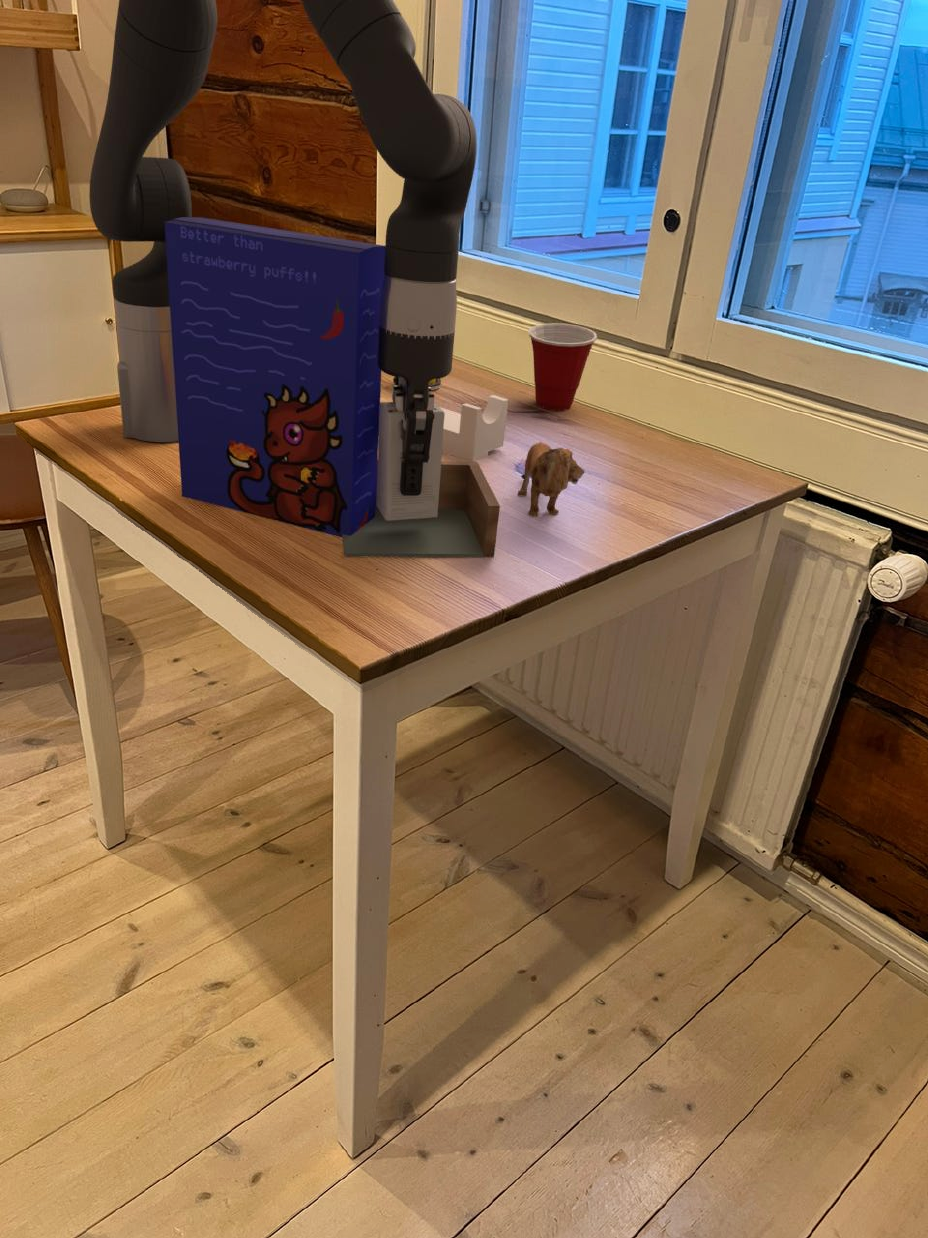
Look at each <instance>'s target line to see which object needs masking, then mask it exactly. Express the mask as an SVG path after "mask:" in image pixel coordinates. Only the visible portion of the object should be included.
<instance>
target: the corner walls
mask: <svg viewBox="0 0 928 1238" xmlns="http://www.w3.org/2000/svg"><path fill="white" fill-rule="evenodd" d="M377 472H378V461H377ZM375 509H378V507H377V484H376V506H375ZM438 509H442V510H465V512H466V514H467V516H468V519H469V521H470V523H471V526H472V528H473V530H474V533H475V535H476V537H477V540H478V542H479V545H480V547H481V549H482V552H483V554H487V555H483V557H482V558H495V551H496V542H497V536H498V535H497V534H498V525H499V518H500V517H499V516H500V509H501V505H500V504H499V501H498V499H497V497H496V495H495V494H494V492H493V490H492V487H491V486H490V483H489V482H488V479H487V477H486V475H485V474H484V472H483V470H482V468H481V466H480V463H479V462H478V460H477V461H467V460H465V461H464V460H441V473H440V487H439V501H438ZM490 554H491V555H490ZM488 555H490V556H488Z"/></svg>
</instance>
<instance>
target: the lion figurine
mask: <svg viewBox="0 0 928 1238" xmlns="http://www.w3.org/2000/svg"><path fill="white" fill-rule="evenodd" d="M584 474H585V470H584V469H583V468H582V467H580V466H579V465H578V463H577V461H576V460H575V459H574V458H573V451H572V450H570V449H569V448H564V447H559V448H553V449H552V448H551V446H550V445H549V444H546V443H544V442H542V441H539V442H537V443H534V444H532V445H531V447H530V448H529V450H528V452H527V455H526V458H525V465H524V473H523V474H522V475H521V476H520V477H521V479H522V484H521V487H520V489H519V490H518V491H517V495H518V496H520V497H525V496H527V495H528V488H529V487H528V486H529V484H530V479H531V486H530V507H529V510H528V512H527V514H528V516H530V517H538V515H539V511H540V510H539V509H540V508H539V499H540V498H539V497H540V495H543V496H545V497H548V499H549V500H548V502H547V503H546V504H547V505H546V511H547V513H548V514H549V515H551V516H556V515H558V514H559V510H558V509H556V507H555V506H556V503H557V500H558V498H559V495H560V494H561V493H562V491H564V490H566V489H567V488H568V486H569V483H571V484H573V485H577V484H578V483H579V480H580V479H581V478H582V477H583V475H584Z"/></svg>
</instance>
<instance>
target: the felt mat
mask: <svg viewBox="0 0 928 1238" xmlns="http://www.w3.org/2000/svg"><path fill="white" fill-rule="evenodd" d="M341 538H342V545H343V551H344V557H345V558H351V557H352V558H484V557H483V555H487V554H483V552H482V549H481V547H480V545H479V542H478V540H477V537H476V535H475V533H474V530H473V528H472V526H471V523H470V521H469V519H468V516H467V514H466V512H465V510H442V509H438V516H437V517H434V518H421V519H407V520H392V521H386V520H385V519H384V517H383V516H382V514H381V512H380V511H379V509H375V517H374V518H373V519H372V520H371V521H369V522H368V523H367V524H365V525H364V526H363V527H361V528H360V529H359V530H358V531H356V532H355V533H354V534H352V535H351V536H349V535H345V534H342V537H341ZM490 555H491V554H490ZM490 555H488V556H490Z"/></svg>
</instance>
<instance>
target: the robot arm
mask: <svg viewBox="0 0 928 1238" xmlns="http://www.w3.org/2000/svg"><path fill="white" fill-rule="evenodd" d="M300 1H301V4H302V6H303V10H304V11H305V13H306V15H307V18H308V19H309V21H310V23H311V25H312V27H313V29H314V30H315V32H316V34H317V36H318V37H319V38H320V40H321V41H322V43H323V45H324V47H325V48H326V50H327V51H328V52H329V53H328V54H330V56H331V57H332V59H333V61H334V63H335V64H336V66H337V68H338V70H340V72H341V74H342V75H343V77H344V78H345V79H346V80H347V82H348V84H349V87H350V88H351V91H352V95H353V98H354V101H355V103H356V106H357V109H358V112H359V113H360V116H361V118H362V121H363V123H364V125H365V128H366V130H367V133H368V135H369V137H370V140H371V141H372V143H373V145H374V147H375V149H376V150H377V152H378V154H379V155H380V157H381V158H382V159H383V161H384V162H385V163H386V165H387V166H388V167H389V169H390V170H392V171H393V172H394V173H395V174H397V175H398V176H399V177H401V178H402V179H404V180H403V181H404V182H403V186H402V194H401V198H400V199H401V200H400V202H399V204H398V206H397V207H396V209H394V211H393V212H392V213H391V214H390V215H389V217H388V220H387V224H386V230H385V231H386V232H385V242H384V243H385V245H384V246H385V263H384V272H385V273H384V280H383V286H382V291H381V299H380V320H379V342H378V367H379V368H380V370H381V372H382V373H384V374H387V375H389V376H391V377H393V381H392V383H393V385H392V388H391V400H392V402H393V403H395V409H396V410H397V411H398V413H403V411H404V417H405V421H406V431H405V430H404V428H403V419H402V420H400V421H398V432H397V435H398V437H399V438H400V439H401V440H402V446H401V453H400V458H401V477H400V492H401V494H402V495H404V496H418V495H420V494H421V488H422V474H423V463H428V459H429V451H430V443H431V434H432V426H433V419H434V417H435V415H434V413H433V409H434V403H435V394H434V393H431V392H432V390H431V387H429V382H430V381H431V380H433V379H436V378H437V379H440V378H441V379H443V378H445V377H447V376H449V375H450V373H451V372H452V369H453V368H452V367H453V358H454V357H453V356H454V345H455V343H454V342H455V332H456V321H457V310H458V309H457V308H458V297H457V275H458V262H459V251H460V250H459V249H460V232H461V231H460V229H461V225H462V221H463V218H464V215H465V212H466V208H467V203H468V199H469V197H470V196H469V195H470V190H471V186H472V182H473V177H474V173H475V169H476V168H475V167H476V160H477V152H478V151H477V150H478V149H477V147H478V144H477V142H478V141H477V131H476V130H477V129H476V125H475V122H474V119H473V116H472V113H470V111H469V109H468V108H467V106H466V105H465V104H463V103H462V101H460V100H459V99H457V98H455V97H453V96H452V95H447V94H442V93H440V94H439V93H434V92H433V90H432V89H431V87H430V85H428V83H427V82H426V80H425V77H424V76H423V73H422V72H421V70H420V68H419V66H418V63H417V62H416V60H415V56H416V51H417V49H416V47H417V46H416V41H415V38H414V36H413V33H412V30H411V29H410V27H409V25H408V23H407V22H406V20H405V18H404V16H403V15H402V12H401V11H400V10H399V8H398V7H397V5H396V3H395V1H394V0H300ZM117 6H118V7H117V15H116V23H115V29H114V30H115V31H114V40H113V52H112V61H111V69H110V79H109V80H110V81H109V87H108V94H107V99H106V100H107V101H106V106H105V110H104V115H103V120H102V124H101V128H100V133H99V135H98V140H97V145H96V149H95V152H94V156H93V161H92V167H91V172H90V177H89V178H90V180H89V198H88V199H89V208H90V214H91V219H92V222H93V223H94V226H95V227H96V229H97V231H98V232H99V233H100V234H101V235H102V236H103V237H105V238H107V239H109V240H112V241H119V242H125V243H126V242H129V243H132V242H135V243H136V242H137V243H138V242H153V246H152V248H151V250H150V251H149V252H148V253H147V255H146V256H144V257H143V258H142V259H140V260H138V261H137V262H135V263H133V264H132V265H129V266H127V267H124V268H122V269H120V270H118V271H117V272H116V273H115V274H114V276H113V277H112V291H113V302H114V313H115V322H116V323H115V324H116V334H117V345H118V346H117V347H118V355H119V361H118V362H117V365H116V369H117V380H118V390H119V391H118V393H119V402H120V411H121V422H122V423H121V424H122V434H123V437H124V438H132V439H137V440H139V441H145V442H151V443H172V442H179V441H178V425H177V410H176V394H175V379H174V363H173V347H172V332H171V316H170V300H169V285H168V269H167V254H166V238H165V222H167V221H171V220H173V219H176V218H181V217H193V212H192V211H193V210H192V208H193V206H192V205H193V204H192V197H191V187H190V184H189V180H188V177H187V174H186V172H185V169H184V167H182V165H181V164H180V163H179V162H178V161H177V160H175V159H173V158H167V157H157V156H156V157H155V156H154V157H153V156H149V157H148V156H144V154H145V152H146V151H147V149H148V148H149V146H150V145H151V143H152V142H153V140H154V139H155V138H156V137H157V136H158V135H159V134H160V133H161V132H162V131H163V130H164V129H165V128H166V127H167V126H168V125H169V124H170V123H171V122H172V121H173V120H174V119H175V118H176V117H177V116H179V114H180V113H181V112H182V111H184V109H185V108H186V107H187V106H188V105H189V104H190V103H191V102H192V100H193V99H194V98H195V97H196V96H197V94H198V93H199V90H200V89H201V88H202V86H203V85H204V82H205V80H206V76H207V72H208V69H209V65H210V61H211V55H212V51H213V46H214V43H215V39H216V33H217V25H218V9H217V2H216V0H118V5H117ZM412 444H420V450H410V446H411V445H412Z"/></svg>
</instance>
